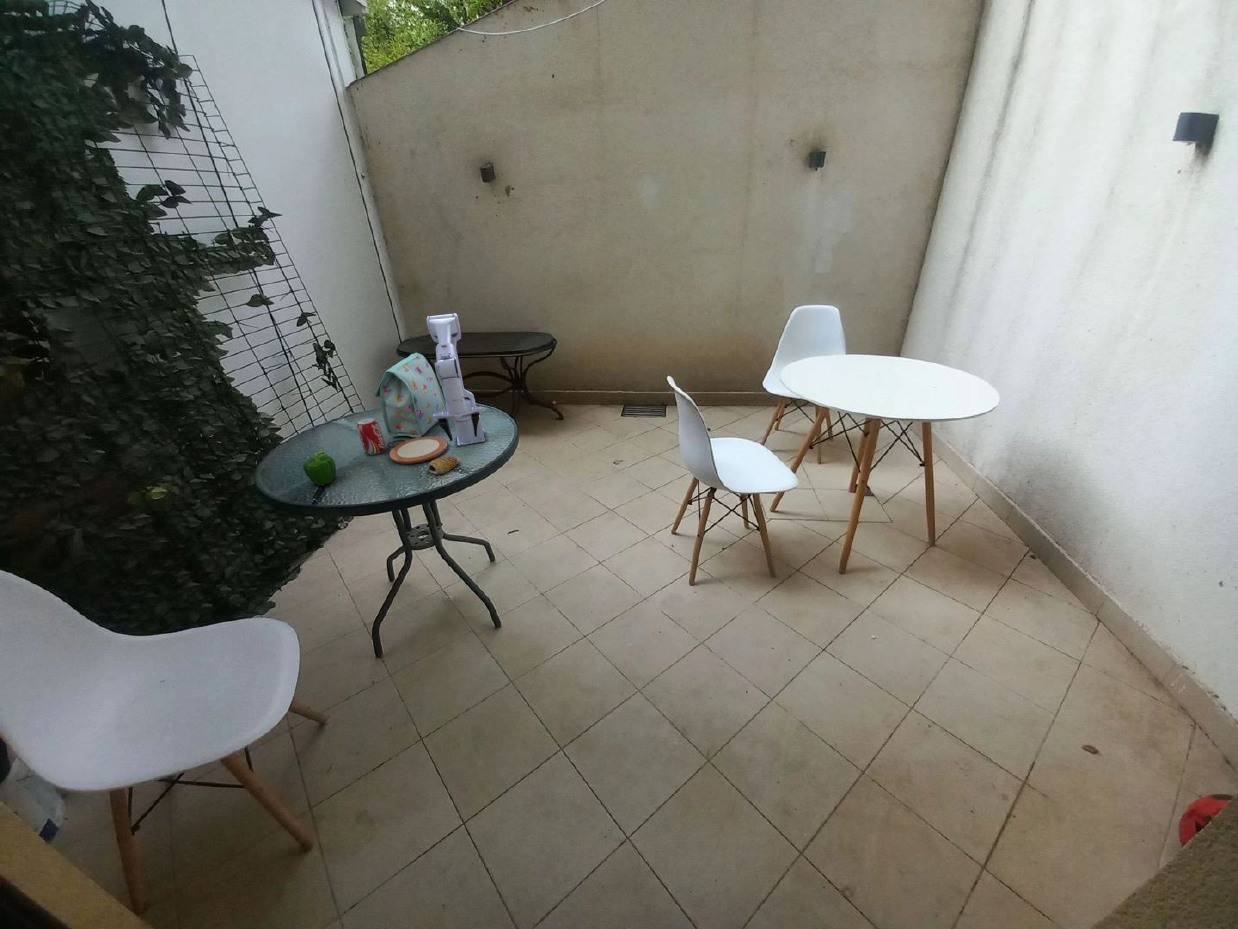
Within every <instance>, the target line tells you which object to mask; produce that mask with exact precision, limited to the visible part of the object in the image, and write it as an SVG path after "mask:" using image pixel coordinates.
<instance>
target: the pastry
mask: <svg viewBox="0 0 1238 929" xmlns="http://www.w3.org/2000/svg"><path fill="white" fill-rule="evenodd" d="M458 461H459V460H458V458H456V457H455V456H443V457H437V458H435V459H433V460H431V461H430V462H428V464H427V467H426V468H427V469H426V470H427V471H428V472H429V473H430V474H434V475H443V474H445V473H446V472H450V471H451V470H453V469H454V468H455V467H456V466H457V465H458V463H459V462H458Z"/></svg>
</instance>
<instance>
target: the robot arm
mask: <svg viewBox="0 0 1238 929" xmlns="http://www.w3.org/2000/svg"><path fill="white" fill-rule="evenodd" d="M459 320H460V319H459V315H458V314H457V313H456V312H453V313H448V314H447V313H446V314H439V315H437V314H436V315H427V317H426V325H427V329H428V333H429V334H430V337H431V339H432V340H433V342H434V343H437V345H436V346H435V357H436V362H434V368H435V372H436V373H435V375H436V376H437V377H436V378H437V380H438V381H439V382H438V383H439V386H440V387H441V391H442V394H443V397H444V401H445V405H446V409H447V411H443V412H440V413H435V414H433V417H434V421H435V422H436V421H439V422H438V426H440V428H441V429H442V430H443V431H444V433H445V434H446V435H447V437H448V439H449V441H450V442H453V435H452V432H451V429H450V425H449V420H452V422H453V423H454V428H455V432H456V435H457V436H456V437H457V438H456V441H457V442H456V443H457V446H458V447H460V446H465V445H472V444H477V443H478V444H479V443H483V442H485V440H486V438H485V434H486V433H485V429H484V428H483V423H482V419H481V415H483V410H482V408H483V407H482V406H477V404H476V399H475V396H474V394H473V392H471V391H469V390H467V389H465V387H464V386H465V385H464V381H463V376H462V370H461V367H460V361H459V356H458V351H457V342H459V341H460V340H462V332H461V325H460V321H459Z"/></svg>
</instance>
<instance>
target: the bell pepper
mask: <svg viewBox="0 0 1238 929" xmlns="http://www.w3.org/2000/svg"><path fill="white" fill-rule="evenodd" d="M302 464H303V465H302V468H303V471H304V473H305V475H306V476H307V477H308V478H309V480H310V481H311V482H312V483H314V484H316V485H318V486H325V485H328V484H331V482H333V480H335V479H336V477H337V468H336V462H335V460H334V459H333V458H332V457H331V456H330V455H328V454H325V451H324V450H321V451H318V452H316V454H315V455H314V456H311V457H309V458H308V460H306V461H304V462H303V463H302Z"/></svg>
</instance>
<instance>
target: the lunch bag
mask: <svg viewBox="0 0 1238 929" xmlns="http://www.w3.org/2000/svg"><path fill="white" fill-rule="evenodd" d="M434 371H435V370H433V367H432V365H431V364H430V363H429V361H428V359H426V357H425V356H424V355H423V354H421V353H418V352H414V353H411V354H410V355H409V356H408V357H406V358H403V359H402V360H400V361H398V362H397V363H396V364H395V365H394V364H393V365H392V366H391V367H390V368H388V369H387V370H385V371H384V373H383V376H382V377H381V378H382V379H381V380H380V382H379V384H378V386H377V388H376V390H375V393H374V396H375V398H379V399H380V407H381V412H382V418H383V422H384V426H385V429H386V432H387V434H388V436H390V437H402V436H403V437H404V436H405V437H406V436H407V437H411V438H414V439H415V438H420V437H424V435H426V433H427V432H428V431H430V429H432V427H434V426H435V425H436V424H438V423H439V421H436V422H435V421H434V417H433V414H435V413H440V412H443V411H447V409H446V402H445V398H444V394H443V391H442V388H441V386H440V383H439V382H438V378H437V377H436V376H437V375H436V373H435V372H434Z"/></svg>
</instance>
